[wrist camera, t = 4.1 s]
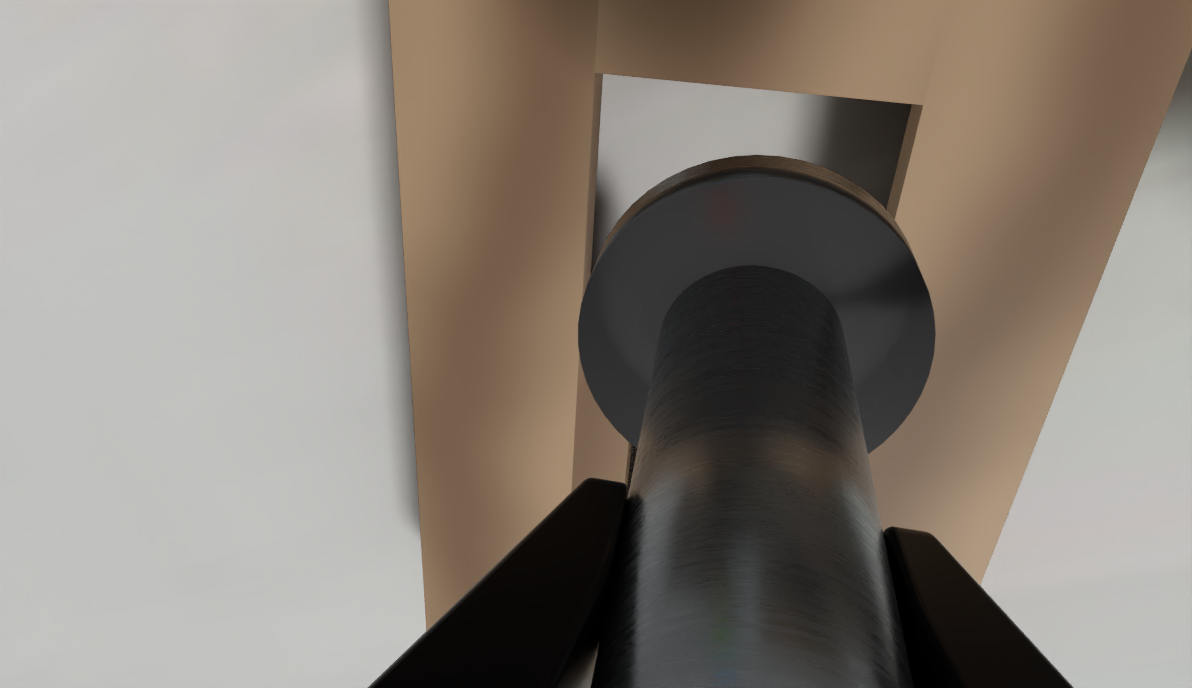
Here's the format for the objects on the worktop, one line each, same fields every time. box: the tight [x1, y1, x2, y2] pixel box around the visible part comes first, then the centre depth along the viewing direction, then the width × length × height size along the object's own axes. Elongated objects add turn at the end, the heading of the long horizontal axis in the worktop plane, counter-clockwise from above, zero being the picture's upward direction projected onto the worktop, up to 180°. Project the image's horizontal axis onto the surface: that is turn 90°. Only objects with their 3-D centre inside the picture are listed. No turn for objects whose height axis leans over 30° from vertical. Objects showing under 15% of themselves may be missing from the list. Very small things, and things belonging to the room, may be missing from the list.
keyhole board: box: [388, 0, 1192, 631], centre depth 21 cm, size 14×22×4 cm, turn 177°
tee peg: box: [578, 155, 936, 688], centre depth 8 cm, size 5×5×10 cm
